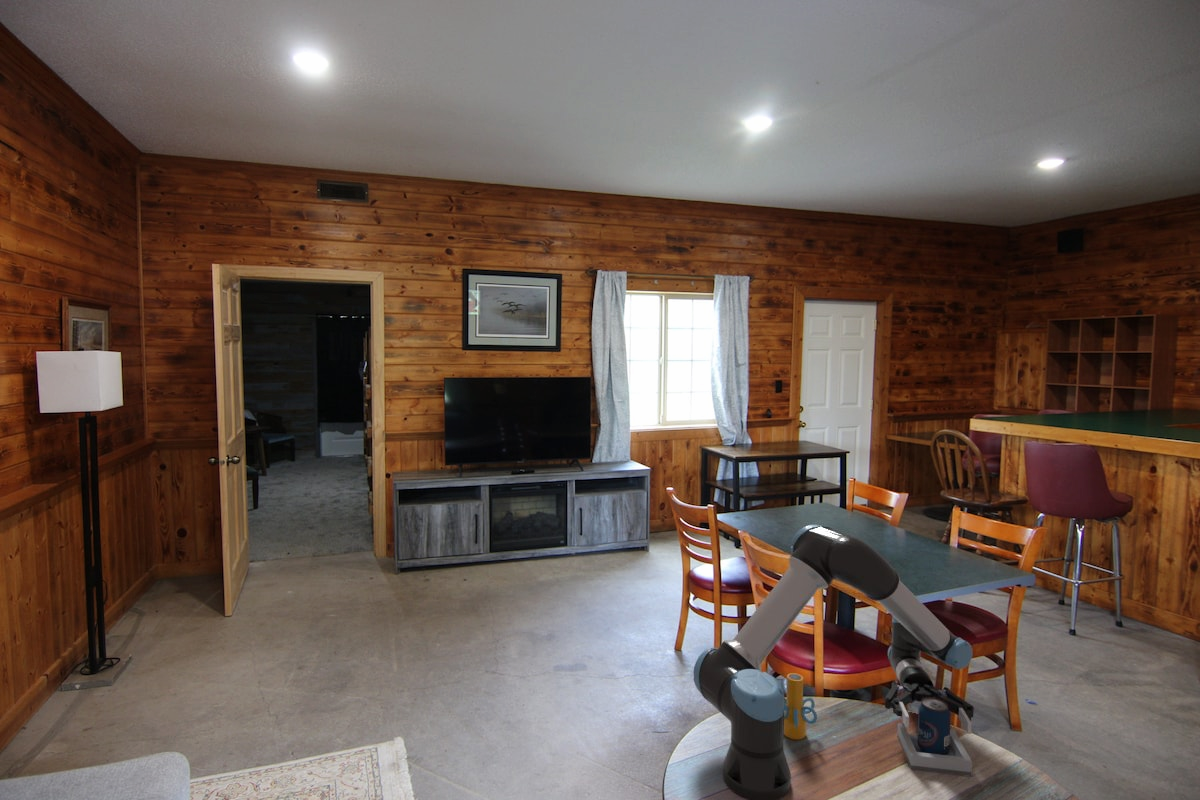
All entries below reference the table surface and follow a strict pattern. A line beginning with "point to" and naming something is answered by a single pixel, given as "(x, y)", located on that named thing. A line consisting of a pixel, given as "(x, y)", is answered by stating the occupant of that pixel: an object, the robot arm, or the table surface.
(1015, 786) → the table surface
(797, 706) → the yellow hollow tube
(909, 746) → the dock
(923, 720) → the soda can
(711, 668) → the robot arm
